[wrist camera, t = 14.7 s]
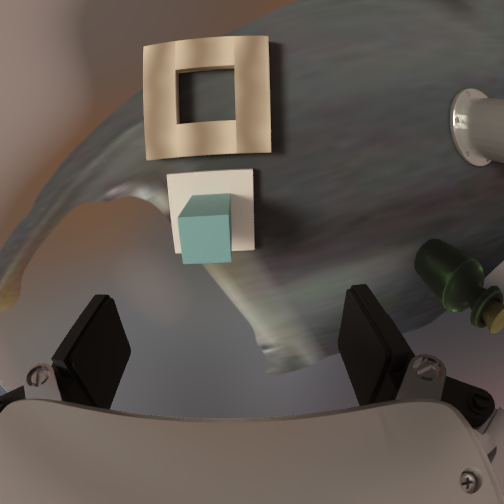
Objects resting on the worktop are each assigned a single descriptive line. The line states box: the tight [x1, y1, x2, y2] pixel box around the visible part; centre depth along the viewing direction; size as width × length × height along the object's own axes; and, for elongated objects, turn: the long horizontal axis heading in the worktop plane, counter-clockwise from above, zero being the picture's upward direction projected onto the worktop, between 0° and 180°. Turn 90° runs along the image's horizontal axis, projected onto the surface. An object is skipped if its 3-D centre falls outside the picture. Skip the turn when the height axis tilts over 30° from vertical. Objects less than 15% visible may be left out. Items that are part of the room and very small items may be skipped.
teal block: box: [178, 193, 232, 264], centre depth 29 cm, size 4×4×9 cm
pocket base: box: [143, 36, 271, 160], centre depth 28 cm, size 14×14×2 cm
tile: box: [167, 168, 255, 253], centre depth 34 cm, size 10×10×1 cm
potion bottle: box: [415, 239, 504, 334], centre depth 31 cm, size 8×8×18 cm
